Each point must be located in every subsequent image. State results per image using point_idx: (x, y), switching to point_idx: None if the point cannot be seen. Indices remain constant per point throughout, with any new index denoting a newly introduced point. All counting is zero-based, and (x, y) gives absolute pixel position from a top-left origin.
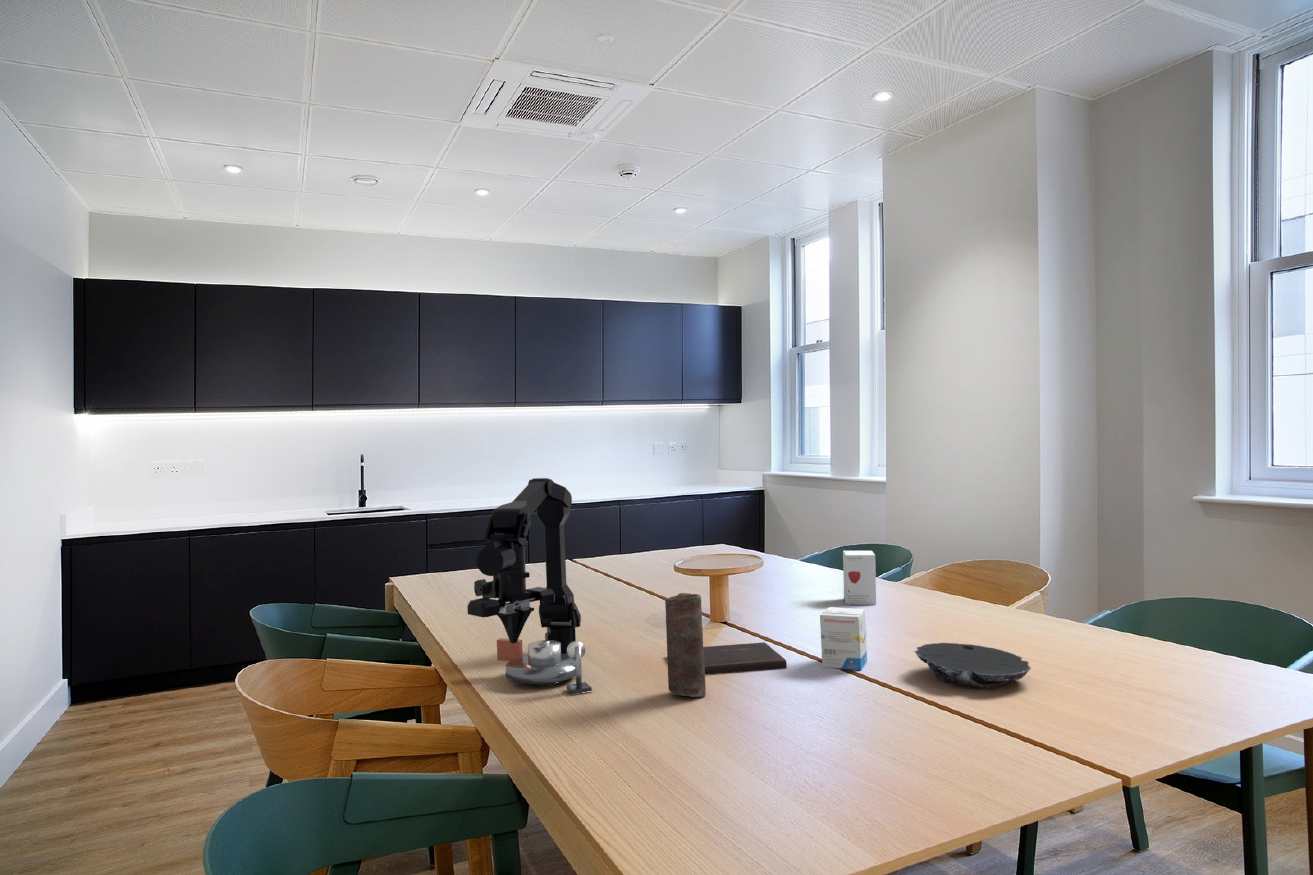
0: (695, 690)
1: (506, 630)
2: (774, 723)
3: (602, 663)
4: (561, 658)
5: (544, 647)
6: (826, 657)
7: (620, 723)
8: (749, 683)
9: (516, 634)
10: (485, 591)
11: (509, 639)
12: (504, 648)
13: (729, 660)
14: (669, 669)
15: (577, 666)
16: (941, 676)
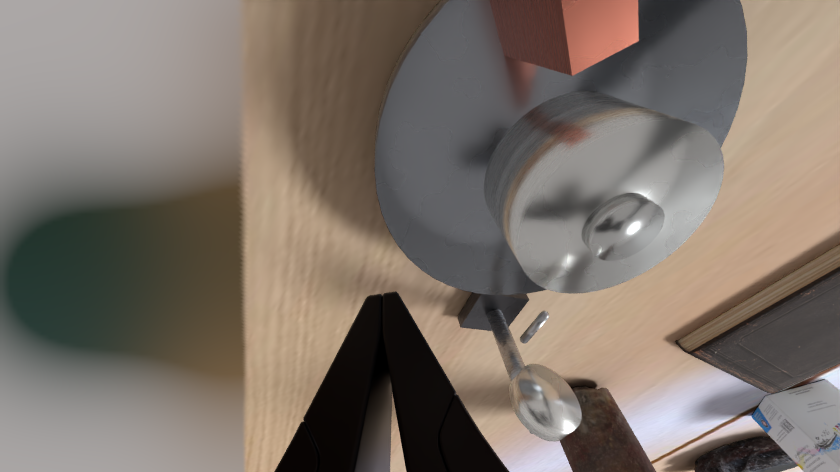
0: None
1: (321, 400)
2: (528, 461)
3: (771, 145)
4: None
5: (559, 273)
6: (778, 414)
7: None
8: (661, 397)
9: (389, 397)
10: None
11: (359, 315)
12: None
13: (761, 363)
14: (573, 449)
15: (506, 367)
16: (716, 458)
